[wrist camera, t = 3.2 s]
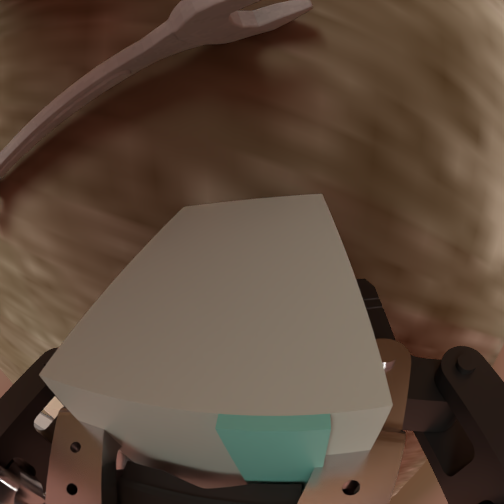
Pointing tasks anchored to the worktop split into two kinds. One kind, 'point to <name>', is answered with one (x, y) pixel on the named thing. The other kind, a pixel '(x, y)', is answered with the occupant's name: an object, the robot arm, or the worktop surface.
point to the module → (231, 348)
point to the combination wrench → (155, 57)
